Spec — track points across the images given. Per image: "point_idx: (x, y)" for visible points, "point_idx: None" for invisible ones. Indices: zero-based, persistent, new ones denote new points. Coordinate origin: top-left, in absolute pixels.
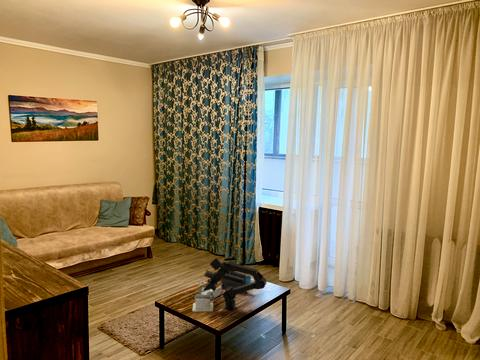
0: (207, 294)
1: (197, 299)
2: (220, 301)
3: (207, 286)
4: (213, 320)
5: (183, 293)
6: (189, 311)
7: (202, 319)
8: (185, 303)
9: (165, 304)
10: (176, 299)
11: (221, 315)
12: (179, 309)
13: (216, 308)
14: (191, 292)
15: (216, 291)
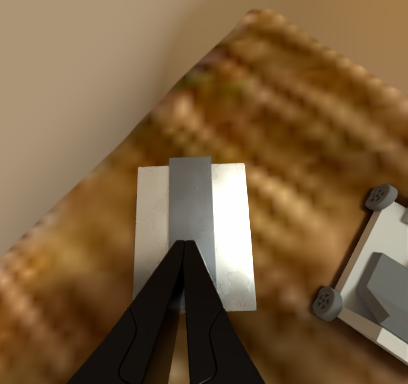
0: (250, 277)
1: (143, 183)
2: (292, 364)
3: (115, 357)
4: (27, 313)
5: (377, 101)
6: (153, 157)
7: (52, 239)
8: (249, 126)
9: (234, 34)
10: (294, 75)
11: None
12: (179, 104)
13: (184, 331)
14: (401, 144)
15: (400, 358)
